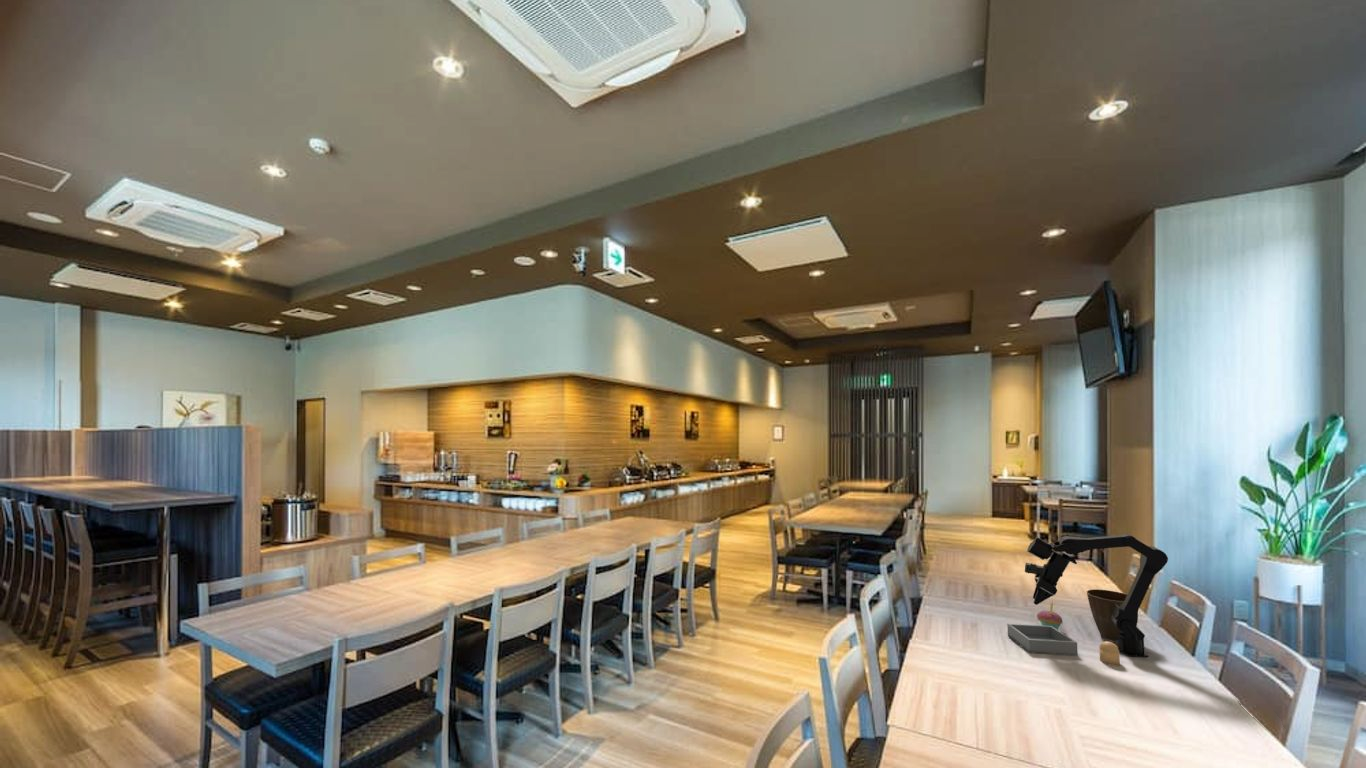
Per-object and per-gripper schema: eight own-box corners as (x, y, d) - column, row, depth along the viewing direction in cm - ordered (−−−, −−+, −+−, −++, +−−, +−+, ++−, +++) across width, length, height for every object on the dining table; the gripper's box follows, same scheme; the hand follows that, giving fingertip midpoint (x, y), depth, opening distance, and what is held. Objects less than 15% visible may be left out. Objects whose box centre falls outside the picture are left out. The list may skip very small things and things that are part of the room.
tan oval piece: (1112, 659, 188) (1112, 639, 188) (1123, 665, 183) (1122, 645, 183) (1096, 658, 189) (1095, 638, 189) (1106, 664, 183) (1105, 644, 184)
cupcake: (1068, 634, 210) (1066, 602, 211) (1046, 633, 211) (1044, 602, 212) (1053, 626, 219) (1052, 596, 220) (1032, 625, 219) (1031, 595, 220)
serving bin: (1052, 638, 206) (1051, 626, 207) (1077, 655, 190) (1077, 642, 191) (1007, 635, 208) (1007, 623, 208) (1029, 652, 192) (1029, 639, 193)
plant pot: (1139, 648, 197) (1136, 603, 198) (1088, 638, 206) (1086, 595, 207) (1136, 636, 209) (1134, 594, 210) (1088, 627, 218) (1086, 587, 219)
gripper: (1031, 550, 217) (1012, 583, 219) (1033, 558, 201) (1012, 593, 203) (1062, 567, 211) (1041, 601, 213) (1066, 576, 195) (1044, 612, 197)
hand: (1034, 601), depth 207 cm, fingers open, 9 cm apart
